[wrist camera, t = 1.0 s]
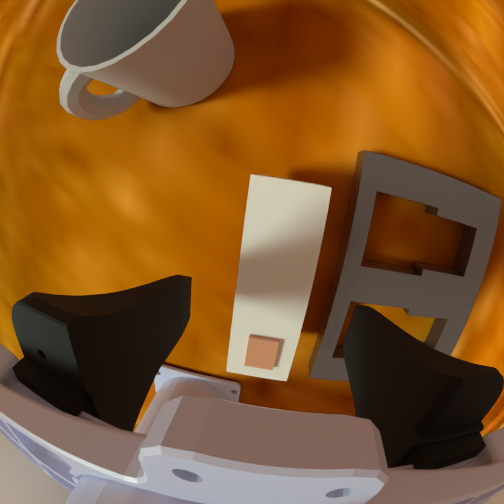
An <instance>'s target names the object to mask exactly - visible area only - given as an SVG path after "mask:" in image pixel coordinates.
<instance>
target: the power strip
mask: <svg viewBox="0 0 504 504" xmlns="http://www.w3.org/2000/svg"><path fill="white" fill-rule="evenodd" d="M331 190H332V188H331V187H328V186H325V185H321V184H315V183H310V182H304V181H298V180H292V179H286V178H280V177H273V176H266V175H259V174H251V177H250V184H249V192H248V199H247V207H246V214H245V222H244V229H243V237H242V245H241V253H240V261H239V269H238V277H237V285H236V293H235V301H234V309H233V318H232V326H231V335H230V343H229V352H228V361H227V370H226V371H228V372H233V373H238V374H243V375H249V376H255V377H261V378H267V379H273V380H280V381H287V378H288V375H289V372H290V368H291V365H292V361H293V358H294V355H295V351H296V347H297V344H298V340H299V337H300V333H301V329H302V325H303V321H304V318H305V314H306V310H307V306H308V302H309V298H310V293H311V289H312V285H313V281H314V276H315V272H316V267H317V263H318V258H319V253H320V249H321V244H322V239H323V234H324V229H325V223H326V218H327V213H328V207H329V201H330V195H331Z"/></svg>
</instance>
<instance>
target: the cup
mask: <svg viewBox="0 0 504 504" xmlns="http://www.w3.org/2000/svg"><path fill="white" fill-rule="evenodd" d="M57 55H58V58H59V61H60V63H61V64H62V65H63V66H64V67H65V68H66V69H67V70H66V72H65V74H64V76H63V78H62V81H61V83H60V90H59V93H60V104H61V105H62V106H63V108H64V109H65V110H66V111H67V112H69V113H71V114H73V115H75V116H77V117H80V118H82V119H88V120H104V119H108V118H112V117H115V116H117V115H119V114H121V113H123V112H125V111H126V110H128V109H129V108H130V107H132V106H133V105H134V104H135V103H136V102H137V101H139V100H140V99H141V98H143V99H145V100H148V101H150V102H152V103H155V104H157V105H160V106H164V107H174V108H175V107H182V106H188V105H191V104H193V103H196V102H199V101H201V100H203V99H204V98H206V97H208V96H209V95H211V94H212V93H214V92H215V91H216V90H217V89H218V88H219V87H220V86H221V85H222V84H223V83H224V81H225V80H226V78H227V77H228V75H229V74H230V72H231V69H232V66H233V63H234V60H235V48H234V44H233V41H232V39H231V36H230V33H229V31H228V29H227V27H226V25H225V23H224V21H223V19H222V16H221V14H220V12H219V10H218V8H217V6H216V4H215V2H214V0H76V1H75V2H74V4H73V5H72V7H71V8H70V9H69V11H68V13H67V15H66V17H65V19H64V21H63V23H62V25H61V27H60V31H59V34H58V38H57ZM93 79H96V80H99V81H102V82H104V83H107V84H109V85H111V86H114V87H116V88H119V90H117V91H116V92H115V93H112V94H110V95H103V96H101V95H93V94H91V93H89V92H88V91H87V90H86V88H87V86H88V85H89V83H90V82H91V81H92V80H93Z"/></svg>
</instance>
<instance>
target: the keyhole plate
mask: <svg viewBox="0 0 504 504" xmlns="http://www.w3.org/2000/svg"><path fill="white" fill-rule="evenodd" d="M377 192H382V193H386V194H390V195H393V196H397V197H401V198H405V199H408V200H412V201H416V202H419V203H423V204H426V205H427V209H426V212H428V213H431V214H433V215H436V216H440V217H443V218H446V219H449V220H453V221H456V222H459V223H462V224H465V227H464V232H463V236H462V240H461V244H460V248H459V252H458V255H457V259H456V262H455V265H454V269H449V268H444V267H439V266H434V265H429V264H424V263H418V262H414V263H413V266H412V268H408V267H402V266H397V265H391V264H386V263H380V262H374V261H369V260H363V254H364V250H365V246H366V242H367V238H368V233H369V229H370V224H371V219H372V214H373V209H374V204H375V198H376V193H377ZM501 202H502V199H500V198H498V197H495V196H493V195H491V194H489V193H487V192H485V191H483V190H480V189H478V188H476V187H473V186H471V185H469V184H466V183H464V182H461V181H459V180H456V179H454V178H451V177H449V176H446V175H443V174H441V173H438V172H435V171H432V170H430V169H427V168H424V167H421V166H418V165H415V164H412V163H409V162H405V161H402V160H399V159H395V158H392V157H388V156H385V155H381V154H378V153H374V152H370V151H366V150H364V151H360V152H358V156H357V163H356V170H355V176H354V182H353V189H352V194H351V200H350V206H349V211H348V216H347V221H346V226H345V231H344V236H343V241H342V245H341V250H340V254H339V258H338V263H337V267H336V271H335V275H334V279H333V283H332V287H331V291H330V295H329V298H328V302H327V306H326V309H325V313H324V316H323V320H322V323H321V327H320V330H319V333H318V337H317V340H316V343H315V346H314V349H313V352H312V356H311V359H310V362H309V378H317V379H327V380H340V381H349V378H348V374H347V369H346V365H345V360H344V349H343V346H336V344H337V342H338V339H339V336H340V333H341V330H342V327H343V324H344V321H345V318H346V315H347V312H348V308H349V305H350V302H351V301H353V302H361V303H368V304H376V305H384V306H392V307H400V308H403V309H404V311H405V312H406V313H407V315H412V316H422V317H433V318H436V319H435V321H434V323H433V326H432V328H431V330H430V332H429V335H428V337H427V339H426V341H425V343H424V344H426V345H428V346H430V347H431V348H433V349H435V350H438V351H440V352H442V353H444V354H447V355H449V356H450V355H451V353H452V351H453V349H454V347H455V345H456V343H457V341H458V339H459V337H460V335H461V333H462V331H463V328H464V326H465V324H466V322H467V319H468V317H469V315H470V312H471V310H472V307H473V305H474V302H475V300H476V297H477V294H478V292H479V289H480V286H481V283H482V280H483V277H484V274H485V271H486V268H487V264H488V261H489V257H490V254H491V250H492V246H493V242H494V238H495V234H496V229H497V225H498V220H499V214H500V209H501Z"/></svg>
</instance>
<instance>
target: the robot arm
mask: <svg viewBox="0 0 504 504" xmlns="http://www.w3.org/2000/svg"><path fill="white" fill-rule="evenodd" d="M191 280H192V277H187V276H182V275H174V276H170V277H167V278H164V279H161V280H158V281H155V282H152V283H149V284H145V285H142V286H138V287H135V288H131V289H128V290H123V291H119V292H113V293H107V294H97V295H85V296H68V295H54V294H46V293H38V292H33V293H31V294H29V295H27V296H26V297H24V298H23V299H21V300H19V301H18V302H16V303H15V304H14V306H13V309H12V322H13V326H14V329H15V332H16V335H17V338H18V341H19V344H20V347H21V349H22V352H23V354H24V356H25V357H24V358H22V359H21V360H20V361H19V360H18V358H17V357H16V356H15V355H14V354H13V353H12V352H11V351H9V350H8V349H7V348H6V347H4V346H3V345H2V344H0V432H1V433H2V434H3V435H4V436H5V437H6V438H7V439H8V440H9V441H10V442H11V443H12V444H13V445H14V446H15V447H16V448H17V449H19V450H20V451H21V452H22V453H23V454H24V455H25V456H26V457H27V458H29V459H30V460H31V461H32V462H33V463H34V464H36V465H37V466H38V467H39V468H40V469H42V470H43V471H44V472H45V473H47V474H48V475H49V476H51V477H52V478H53V479H55V480H56V481H57V482H59V483H60V484H62V485H63V486H64V487H66V488H67V489H69V490H70V491H72V492H71V494H70V496H69V497H68V499H67V501H66V502H65V504H484V503H485V502H487V501H488V500H489V499H491V498H492V497H493V496H495V495H496V494H497V493H499V492H500V491H501V490H502V489H504V428H501V429H498V430H496V431H493V432H490V433H488V434H487V435H485V436H484V437H483V438H482V436H481V434H480V431H482V430H483V428H484V426H483V424H482V422H481V420H482V419H483V418H484V417H485V416H486V414H487V413H488V412H489V410H490V409H491V408H492V406H493V405H494V404H495V402H496V401H497V399H498V398H499V396H500V394H501V392H502V389H503V385H504V379H503V376H502V375H501V374H500V373H499V371H498V370H497V369H496V368H494V367H488V366H483V365H478V364H474V363H470V362H467V361H463V360H460V359H457V358H454V357H452V356H449V355H447V354H444V353H442V352H440V351H438V350H435V349H433V348H431V347H430V346H428V345H426V344H424V343H422V342H421V341H419V340H417V339H416V338H414V337H413V336H411V335H410V334H408V333H407V332H405V331H404V330H402V329H401V328H399V327H398V326H397V325H395V324H394V323H393V322H391V321H390V320H389V319H387V318H386V317H384V316H383V315H382V314H380V313H379V312H378V311H376V310H375V309H373V308H371V307H369V306H362V305H356V307H355V310H354V313H353V316H352V319H351V322H350V325H349V328H348V331H347V333H346V336H345V339H344V342H343V349H344V360H345V365H346V369H347V374H348V378H349V382H350V386H351V390H352V395H353V399H354V405H355V414H356V417H354V416H349V415H344V414H324V413H310V412H299V411H290V410H281V409H274V408H267V407H260V406H254V405H248V404H243V403H238V402H239V396H240V390H241V385H240V384H239V383H237V382H234V381H229V380H224V379H219V378H215V377H210V376H206V375H202V374H198V373H194V372H190V371H186V370H182V369H178V368H175V367H171V366H168V365H164V364H163V363H164V362H165V360H166V359H167V357H168V356H169V354H170V353H171V351H172V350H173V348H174V347H175V345H176V344H177V342H178V340H179V339H180V337H181V336H182V334H183V332H184V330H185V328H186V326H187V323H188V321H189V319H190V303H191ZM158 371H159V372H158ZM153 381H155V389H156V395H155V397H154V398H153V400H152V402H151V404H150V405H149V407H148V409H147V411H146V412H145V414H144V416H143V418H142V420H141V421H140V423H139V425H138V427H137V428H136V430H135V432H133V429H134V426H135V423H136V421H137V418H138V415H139V413H140V410H141V408H142V405H143V403H144V401H145V398H146V396H147V394H148V391H149V389H150V387H151V385H152V383H153ZM233 390H235V391H233Z"/></svg>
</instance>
